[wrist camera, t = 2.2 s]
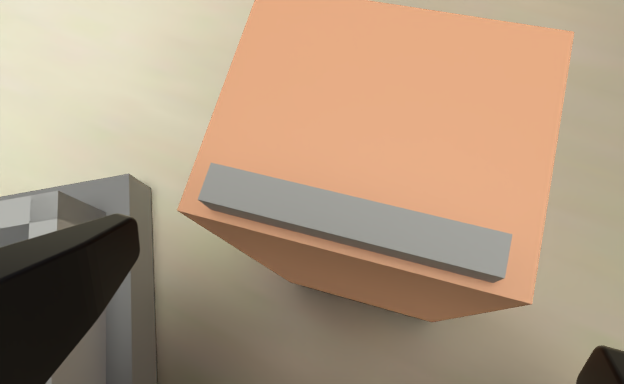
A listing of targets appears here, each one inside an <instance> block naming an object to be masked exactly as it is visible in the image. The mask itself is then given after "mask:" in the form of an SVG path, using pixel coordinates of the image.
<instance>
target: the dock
mask: <svg viewBox="0 0 624 384" xmlns="http://www.w3.org/2000/svg"><path fill="white" fill-rule="evenodd" d="M116 213H119V214H123V215H127V216H131V217H133V218H135V219H136V221H137V223H138V231H139V241H140V254H139V257H138V259H137V261H136V263H135V264H134V266H133V267H132V269H131V270H130V272H129V273H128V275H127V277H126V278H125V280H124V281H123V283H122V284H121V286H120V287H119V289H118V290H117V292H116V293H115V295H114V296H113V298H112V299H111V301H110V302H109V304H108V305H107V307H106V308H105V310H104V311H103V313H102V314H101V315H100V317H99V318H98V320H97V321H96V322H95V323H94V325H93V326H92V327H91V329H90V330H89V331H88V332H87V334H86V335H85V336H84V337H83V338H82V340H81V341H80V342H79V343H78V345H77V346H76V347H75V348H74V349H73V351H72V352H71V353H70V354H69V356H68V357H67V358H66V359H65V360H64V362H63V363H62V364H61V365H60V367H59V368H58V369H57V370H56V372H55V373H54V374H53V375H52V376H51V378H50V379H49V380H48V381H47V383H46V384H157V363H156V332H155V300H154V269H153V238H152V207H151V188H150V187H148V186H147V185H145V184H144V183H142V182H141V181H139V180H138V179H136V178H135V177H133V176H132V175H130V174H125V175H119V176H114V177H108V178H103V179H97V180H92V181H86V182H80V183H75V184H69V185H64V186H58V187H53V188H47V189H41V190H36V191H30V192H25V193H19V194H14V195H8V196H2V197H0V247H3V246H7V245H10V244H13V243H17V242H20V241H24V240H27V239H30V238H34V237H37V236H41V235H44V234H47V233H51V232H54V231H58V230H61V229H64V228H68V227H71V226H75V225H78V224H81V223H85V222H88V221H91V220H95V219H98V218H102V217H105V216H108V215H112V214H116Z"/></svg>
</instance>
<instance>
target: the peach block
mask: <svg viewBox="0 0 624 384" xmlns="http://www.w3.org/2000/svg"><path fill="white" fill-rule="evenodd" d="M573 37H574V32H572V31H565V30H558V29H552V28H545V27H539V26H532V25H526V24H519V23H513V22H506V21H499V20H493V19H486V18H480V17H473V16H467V15H460V14H453V13H447V12H440V11H434V10H427V9H421V8H414V7H407V6H401V5H394V4H388V3H381V2H375V1H368V0H255V1H254V4H253V6H252V9H251V12H250V15H249V17H248V20H247V23H246V25H245V28H244V31H243V33H242V36H241V39H240V42H239V44H238V47H237V50H236V52H235V55H234V58H233V60H232V63H231V66H230V69H229V71H228V74H227V77H226V79H225V82H224V85H223V87H222V90H221V93H220V96H219V98H218V101H217V104H216V106H215V109H214V112H213V114H212V117H211V120H210V123H209V125H208V128H207V131H206V133H205V136H204V139H203V141H202V144H201V147H200V150H199V152H198V155H197V158H196V160H195V163H194V166H193V168H192V171H191V174H190V177H189V179H188V182H187V185H186V187H185V190H184V193H183V195H182V198H181V201H180V204H179V206H178V209H177V211H179V212H180V213H182V214H183V215H185V216H187V217H188V218H190V219H191V220H193V221H194V222H196V223H198V224H199V225H201V226H202V227H204V228H206V229H207V230H209V231H210V232H212V233H213V234H215V235H217V236H218V237H220V238H221V239H223V240H224V241H226V242H228V243H229V244H231V245H232V246H234V247H235V248H237V249H239V250H240V251H242V252H243V253H245V254H247V255H248V256H250V257H251V258H253V259H254V260H256V261H258V262H259V263H261V264H262V265H264V266H265V267H267V268H269V269H270V270H272V271H273V272H275V273H276V274H278V275H280V276H281V277H283V278H284V279H286V280H288V281H289V282H291V283H295V284H298V285H302V286H306V287H309V288H313V289H316V290H320V291H323V292H327V293H330V294H334V295H337V296H341V297H344V298H348V299H352V300H355V301H359V302H362V303H366V304H369V305H373V306H376V307H380V308H383V309H387V310H390V311H394V312H397V313H401V314H405V315H408V316H412V317H415V318H419V319H422V320H426V321H429V322H436V321H442V320H447V319H453V318H458V317H464V316H469V315H475V314H480V313H486V312H492V311H497V310H503V309H508V308H514V307H519V306H525V305H530V304H532V301H533V295H534V289H535V282H536V276H537V269H538V263H539V256H540V250H541V243H542V237H543V231H544V224H545V218H546V211H547V205H548V198H549V192H550V185H551V179H552V172H553V166H554V160H555V153H556V147H557V140H558V134H559V127H560V121H561V114H562V108H563V102H564V95H565V89H566V82H567V76H568V69H569V63H570V56H571V50H572V44H573Z"/></svg>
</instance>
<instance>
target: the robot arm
mask: <svg viewBox="0 0 624 384" xmlns="http://www.w3.org/2000/svg"><path fill="white" fill-rule="evenodd" d="M139 254H140V241H139V231H138V223H137V221H136V219H135V218H133V217H131V216H127V215H123V214H119V213H116V214H112V215H108V216H105V217H102V218H98V219H95V220H91V221H88V222H85V223H81V224H78V225H75V226H71V227H68V228H64V229H61V230H58V231H54V232H51V233H47V234H44V235H41V236H37V237H34V238H30V239H27V240H24V241H20V242H17V243H13V244H10V245H7V246H3V247H0V384H46V383H47V381H48V380H49V379H50V378H51V376H52V375H53V374H54V373H55V372H56V370H57V369H58V368H59V367H60V365H61V364H62V363H63V362H64V360H65V359H66V358H67V357H68V356H69V354H70V353H71V352H72V351H73V349H74V348H75V347H76V346H77V345H78V343H79V342H80V341H81V340H82V338H83V337H84V336H85V335H86V334H87V332H88V331H89V330H90V329H91V327H92V326H93V325H94V323H95V322H96V321H97V320H98V318H99V317H100V315H101V314H102V313H103V311H104V310H105V308H106V307H107V305H108V304H109V302H110V301H111V299H112V298H113V296H114V295H115V293H116V292H117V290H118V289H119V287H120V286H121V284H122V283H123V281H124V280H125V278H126V277H127V275H128V273H129V272H130V270H131V269H132V267H133V266H134V264H135V263H136V261H137V259H138V257H139ZM576 384H624V351H621V350H618V349H614V348H610V347H607V346H598V347H596V348H595V349H594V350H593V352H592V354H591V355H590V357H589V359H588V360H587V362H586V364H585V365H584V367H583V369H582V370H581V372H580V374H579V375H578V378H577V382H576Z"/></svg>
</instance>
